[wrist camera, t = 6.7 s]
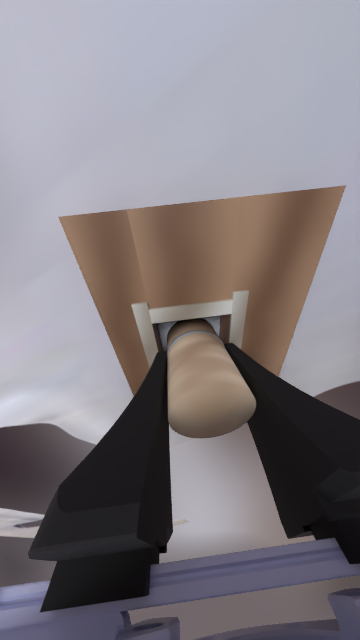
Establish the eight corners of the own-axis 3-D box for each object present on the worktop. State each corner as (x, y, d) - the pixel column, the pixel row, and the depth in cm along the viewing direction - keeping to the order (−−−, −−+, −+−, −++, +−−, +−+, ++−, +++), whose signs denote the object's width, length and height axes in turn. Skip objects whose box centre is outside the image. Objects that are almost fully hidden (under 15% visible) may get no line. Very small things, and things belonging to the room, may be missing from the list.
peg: (217, 315, 11) (267, 378, 6) (213, 356, 13) (247, 433, 7) (164, 318, 11) (163, 388, 5) (168, 360, 12) (169, 443, 7)
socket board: (310, 196, 9) (350, 183, 7) (259, 385, 17) (270, 403, 15) (81, 222, 8) (55, 216, 7) (145, 400, 17) (143, 420, 15)
